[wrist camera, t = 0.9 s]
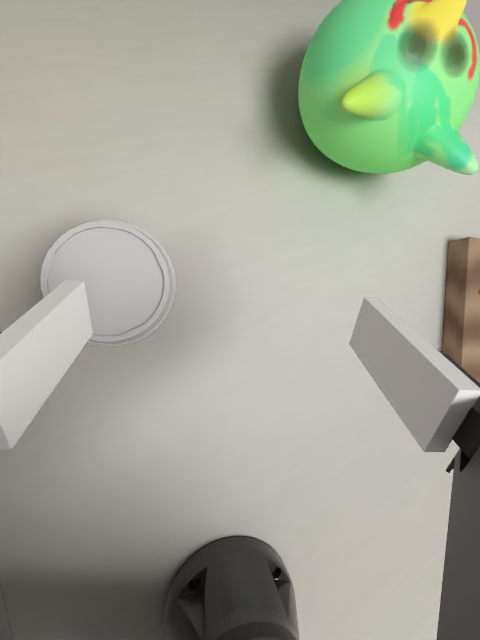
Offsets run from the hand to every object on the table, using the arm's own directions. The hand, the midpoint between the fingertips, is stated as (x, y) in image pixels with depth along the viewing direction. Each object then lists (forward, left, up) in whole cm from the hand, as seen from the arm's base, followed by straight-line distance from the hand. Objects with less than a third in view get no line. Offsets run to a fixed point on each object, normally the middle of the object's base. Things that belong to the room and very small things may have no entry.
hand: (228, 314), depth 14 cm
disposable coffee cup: (+2, +7, -21) cm, 22 cm away
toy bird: (+24, -18, -21) cm, 36 cm away
